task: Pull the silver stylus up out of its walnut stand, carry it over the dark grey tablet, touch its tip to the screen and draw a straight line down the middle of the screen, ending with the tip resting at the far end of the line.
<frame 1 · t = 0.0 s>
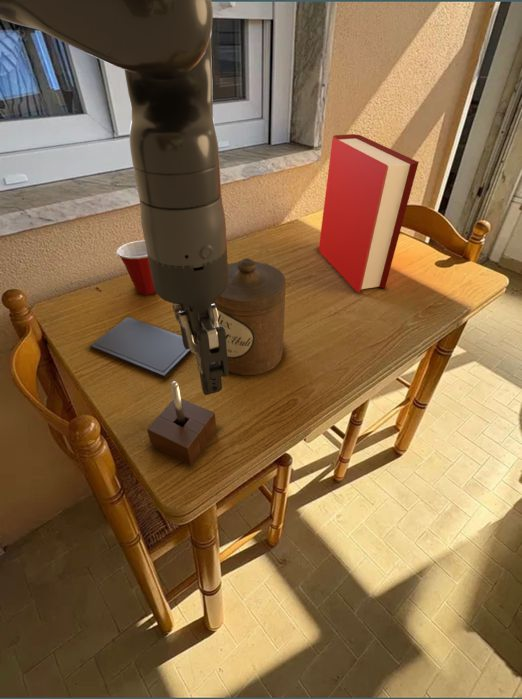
hand: (201, 367, 47), 22 cm above the table, tool pointing down, fingers open, 8 cm apart
stylus stand: (184, 438, 65), on the table
stylus: (184, 438, 66), resting in stylus stand
wooden container: (248, 352, 83), on the table
plastic cup: (147, 289, 102), on the table
tablet: (145, 346, 84), on the table
book: (347, 267, 112), on the table
pawn: (189, 316, 93), on the table
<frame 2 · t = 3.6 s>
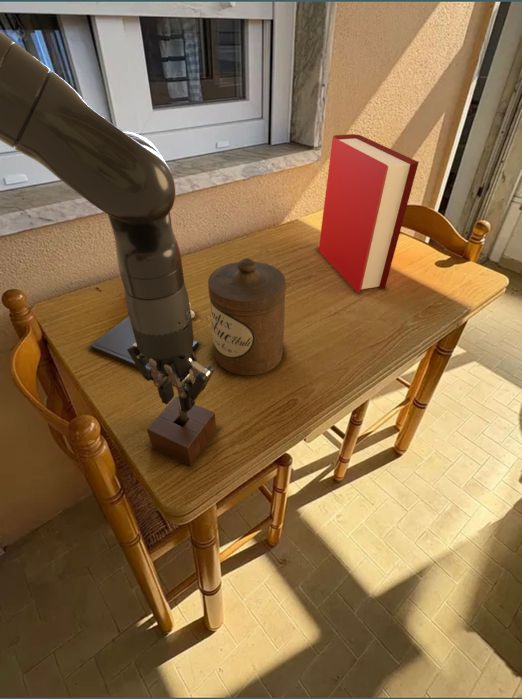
hand: (178, 403, 59), 9 cm above the table, tool pointing down, fingers open, 3 cm apart
stylus: (184, 438, 66), resting in stylus stand, touching gripper
everything else where it was.
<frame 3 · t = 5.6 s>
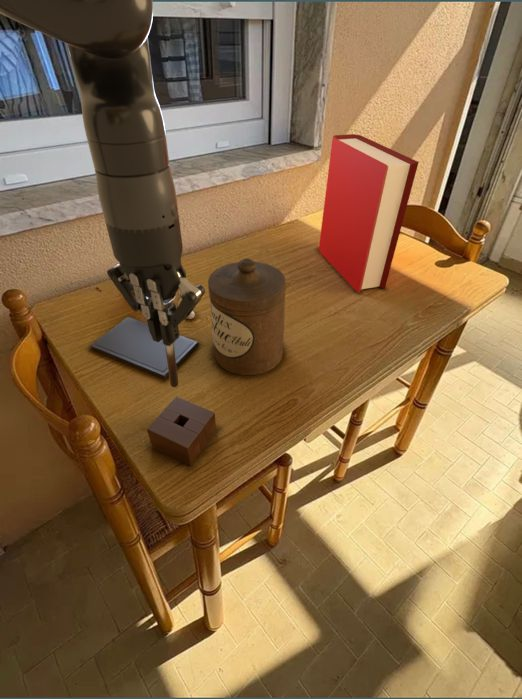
hand: (165, 339, 51), 22 cm above the table, tool pointing down, fingers closed on stylus, 1 cm apart
stylus: (174, 386, 57), point 13 cm above the table, touching gripper
everything else where it was.
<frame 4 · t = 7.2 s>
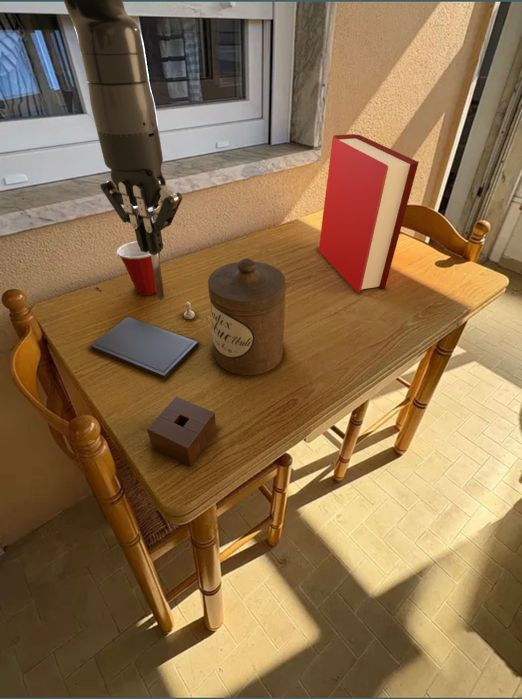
hand: (151, 251, 59), 27 cm above the table, tool pointing down, fingers closed on stylus, 1 cm apart
stylus: (161, 299, 65), point 18 cm above the table, touching gripper
everything else where it was.
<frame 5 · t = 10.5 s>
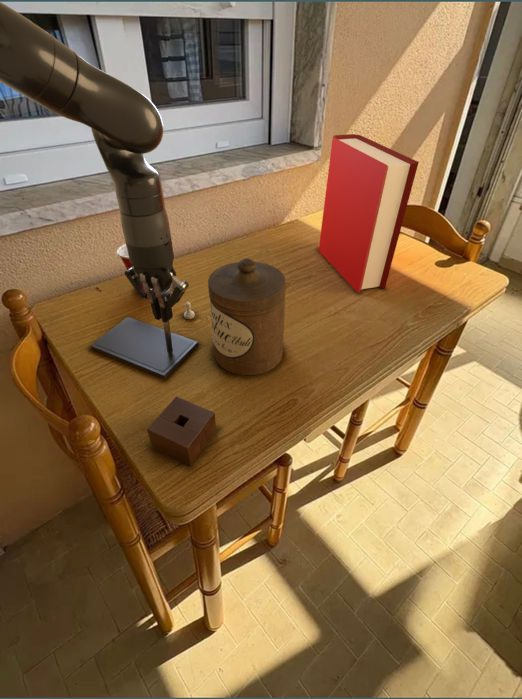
hand: (163, 318, 75), 10 cm above the table, tool pointing down, fingers closed on stylus, 1 cm apart
stylus: (170, 353, 81), point 1 cm above the table, touching gripper, tablet
everything else where it was.
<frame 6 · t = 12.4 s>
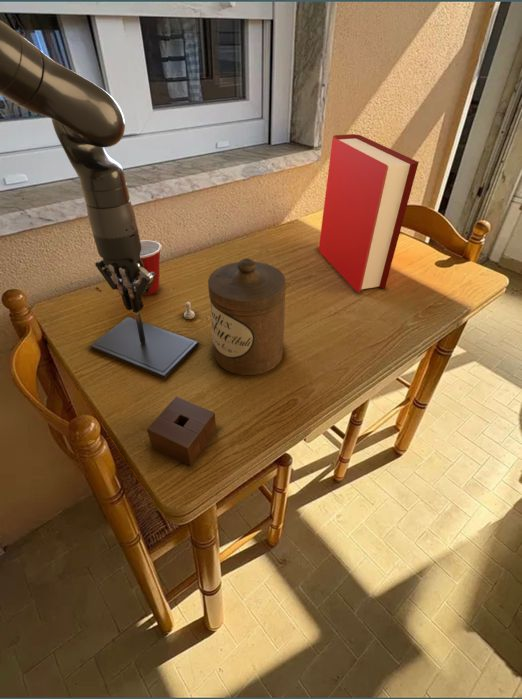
hand: (134, 309, 77), 10 cm above the table, tool pointing down, fingers closed on stylus, 1 cm apart
stylus: (143, 343, 83), point 1 cm above the table, touching gripper
everything else where it was.
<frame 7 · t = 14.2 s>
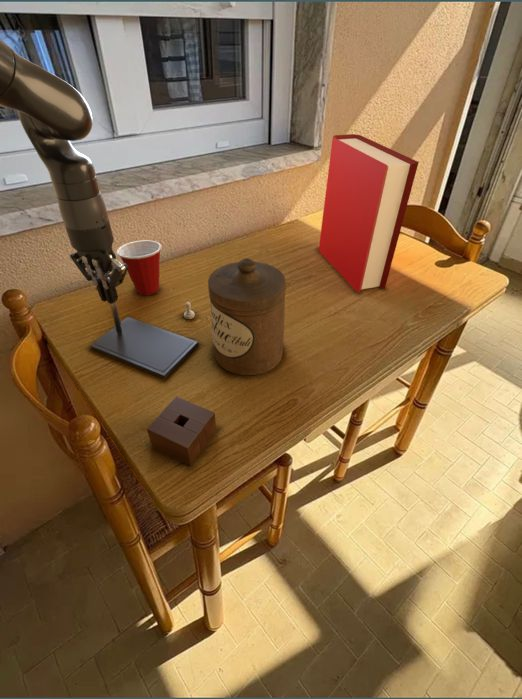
hand: (110, 300, 79), 10 cm above the table, tool pointing down, fingers closed on stylus, 1 cm apart
stylus: (119, 333, 85), point 1 cm above the table, touching gripper
everything else where it was.
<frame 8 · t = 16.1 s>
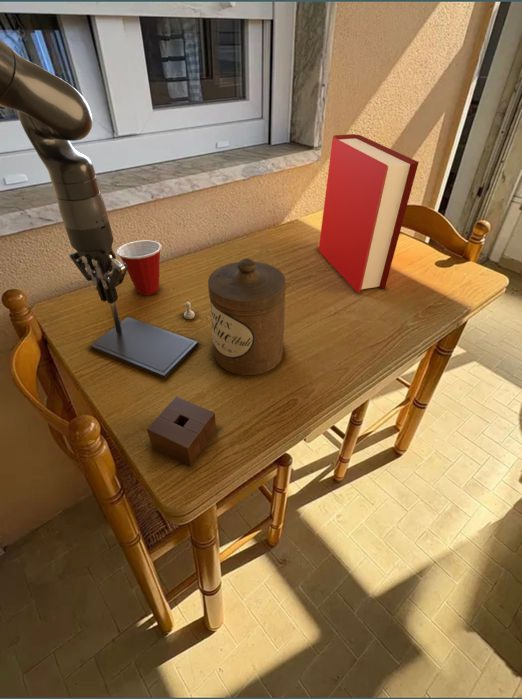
hand: (109, 300, 79), 10 cm above the table, tool pointing down, fingers closed on stylus, 1 cm apart
nothing on the table moved.
at the end: stylus 0.4 cm from the target spot on the tablet, point 1.0 cm above the tablet's base; stylus moved 33.2 cm from its start; stylus tilted 4° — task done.
